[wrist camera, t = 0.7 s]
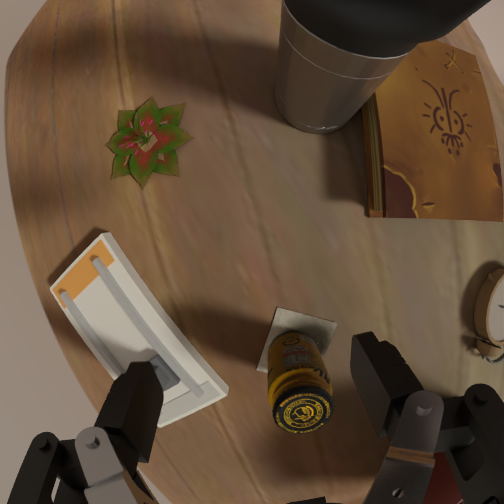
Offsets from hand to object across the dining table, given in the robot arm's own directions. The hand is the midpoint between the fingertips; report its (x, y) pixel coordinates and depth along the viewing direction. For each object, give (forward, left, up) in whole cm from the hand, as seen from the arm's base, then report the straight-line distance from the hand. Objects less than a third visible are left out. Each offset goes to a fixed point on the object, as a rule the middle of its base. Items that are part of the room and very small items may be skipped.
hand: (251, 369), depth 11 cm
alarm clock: (+5, +37, -22) cm, 43 cm away
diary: (-19, +20, -22) cm, 35 cm away
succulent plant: (-14, -14, -22) cm, 30 cm away
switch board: (+10, -15, -21) cm, 28 cm away
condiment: (+9, +5, -22) cm, 24 cm away
